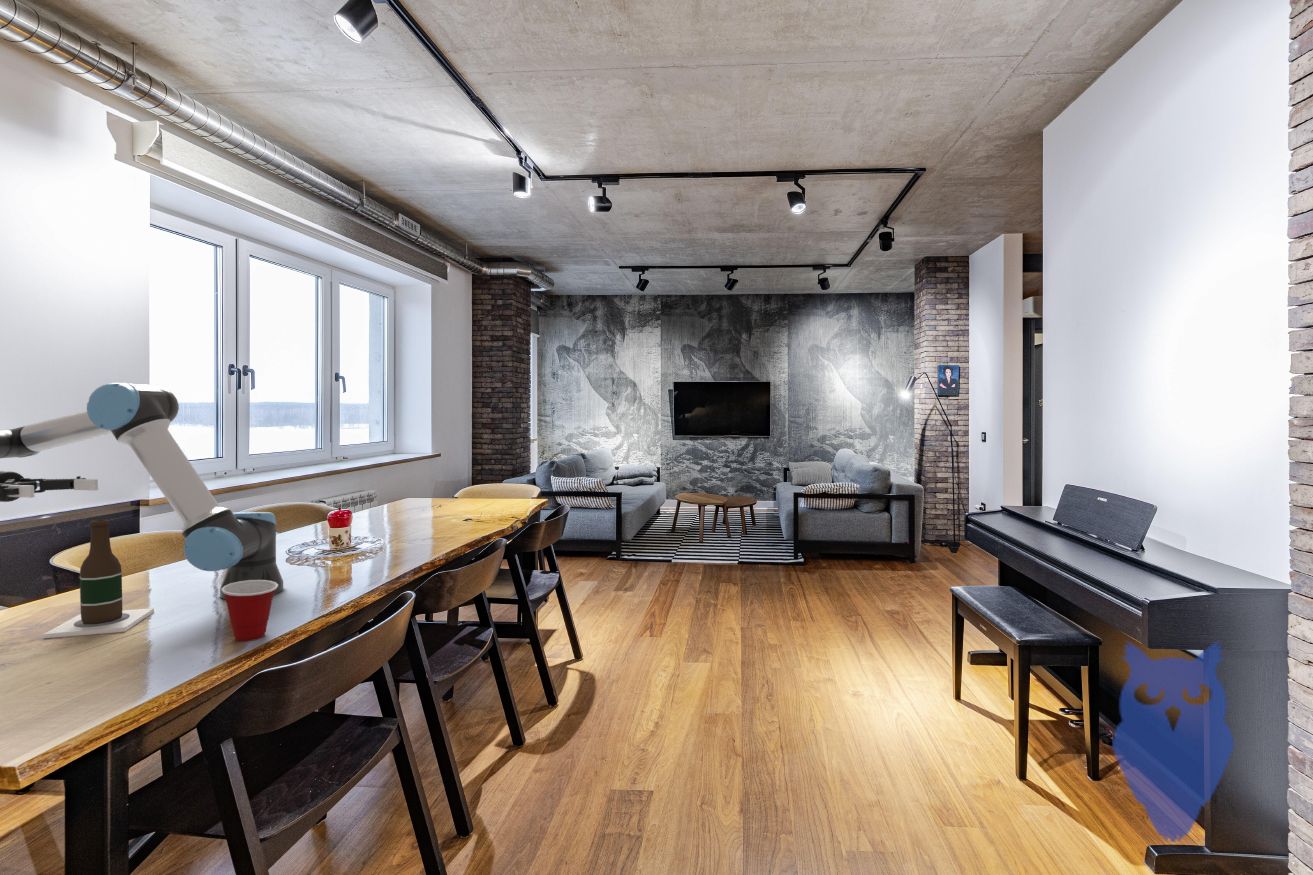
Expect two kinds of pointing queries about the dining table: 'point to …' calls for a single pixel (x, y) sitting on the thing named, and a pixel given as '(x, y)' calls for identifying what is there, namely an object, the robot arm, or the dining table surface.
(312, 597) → the dining table surface
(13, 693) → the dining table surface
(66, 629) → the tile
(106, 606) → the beer bottle
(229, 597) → the plastic cup
